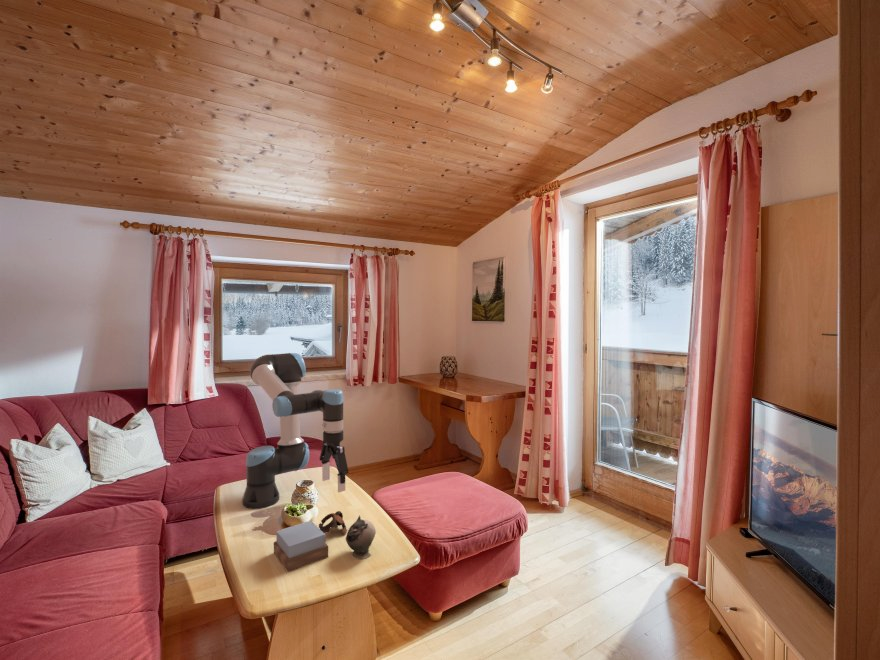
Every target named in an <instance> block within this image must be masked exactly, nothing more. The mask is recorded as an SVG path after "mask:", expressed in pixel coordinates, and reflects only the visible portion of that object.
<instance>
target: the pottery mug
mask: <svg viewBox="0 0 880 660" xmlns="http://www.w3.org/2000/svg"><path fill="white" fill-rule="evenodd" d="M343 517H344V515H343V512H342V511H340V510H337V511H335V513H333V512H331V513H329V514H327V515H325V516H324V517H323V518H322V519H321V520H320V521H321V522H319V524H318V528H319V529H320V530H321V531H322V532H323V533H324V534H327V533H328V534H331V529H337V528H338V527H340V526H341V529H342V530H341V531H342V533H343V536H346V535H347V533H348V529H347V526H346V522H345V520H344V518H343ZM331 518H332V519H331ZM329 519H331V521H329V522H328V523H327V524H325V523H326V522H327V521H328V520H329ZM324 524H325V525H324Z"/></svg>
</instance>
